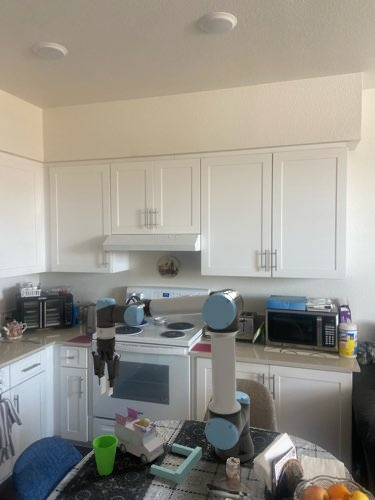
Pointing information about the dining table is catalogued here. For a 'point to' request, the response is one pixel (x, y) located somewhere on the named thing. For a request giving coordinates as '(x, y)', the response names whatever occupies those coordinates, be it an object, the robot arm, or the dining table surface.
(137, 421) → the toy vehicle
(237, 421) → the robot arm
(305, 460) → the dining table surface
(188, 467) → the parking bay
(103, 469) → the cup
